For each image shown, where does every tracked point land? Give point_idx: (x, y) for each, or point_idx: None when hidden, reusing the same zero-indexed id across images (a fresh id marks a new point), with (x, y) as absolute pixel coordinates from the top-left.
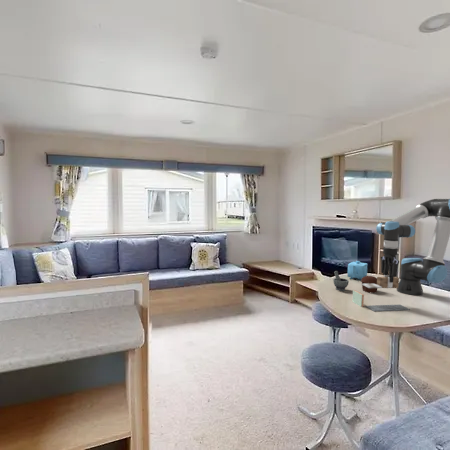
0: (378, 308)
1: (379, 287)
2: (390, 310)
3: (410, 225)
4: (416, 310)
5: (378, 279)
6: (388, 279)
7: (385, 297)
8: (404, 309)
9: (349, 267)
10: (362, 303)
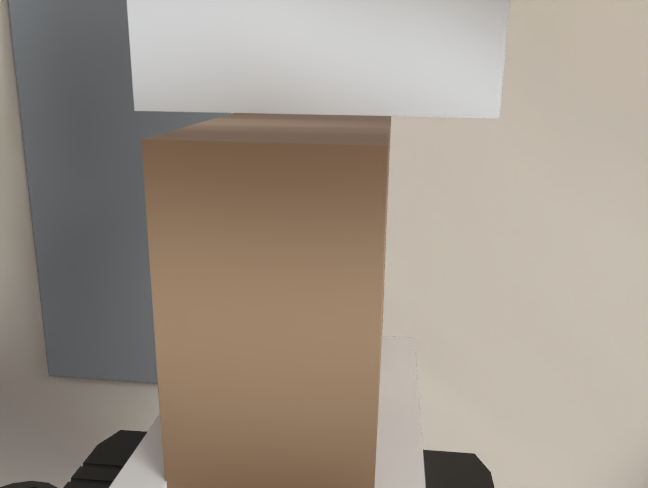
0: None
1: (139, 28)
2: (21, 80)
3: None
4: (45, 438)
5: (289, 130)
6: (150, 451)
7: (604, 435)
8: (42, 298)
9: None
10: None
